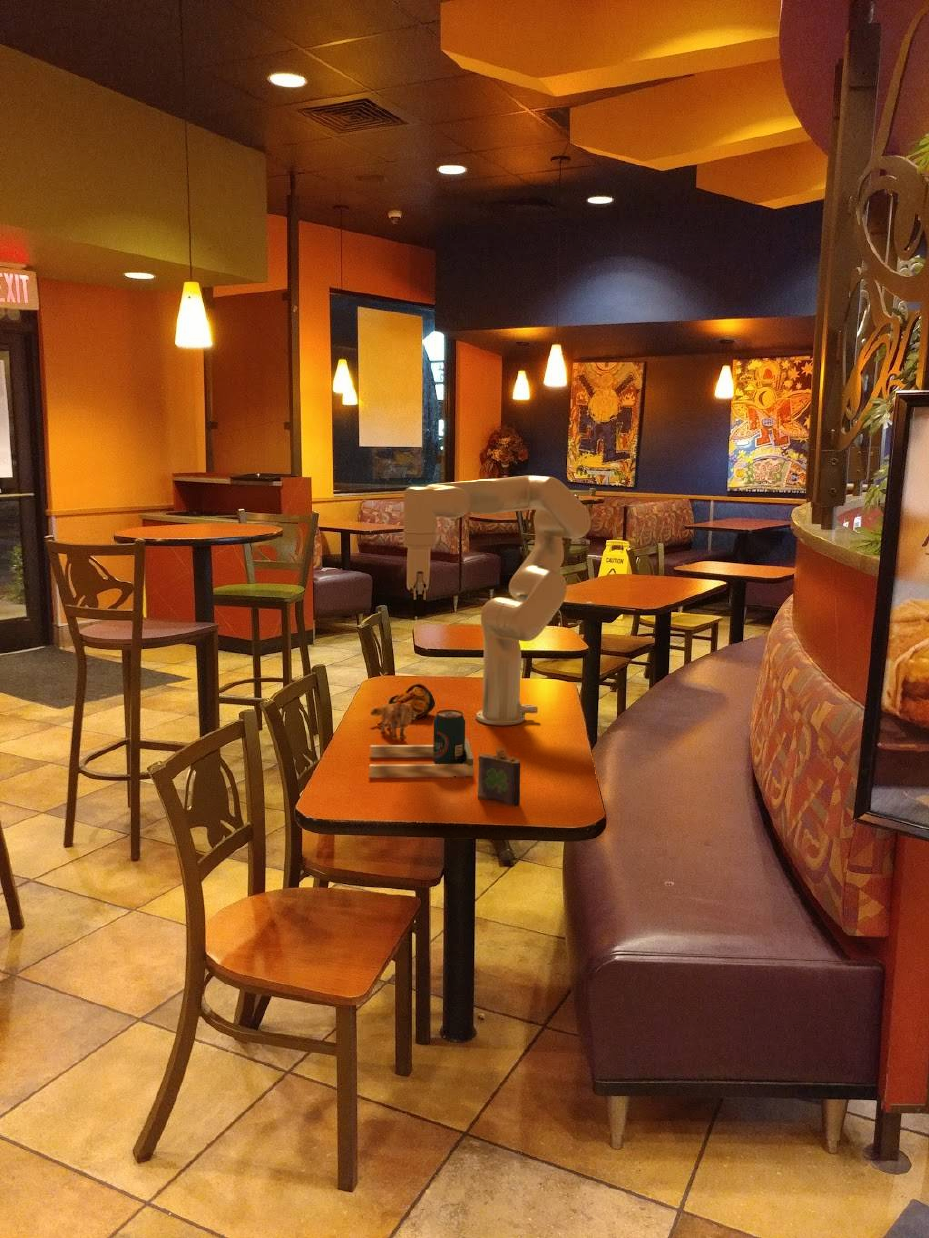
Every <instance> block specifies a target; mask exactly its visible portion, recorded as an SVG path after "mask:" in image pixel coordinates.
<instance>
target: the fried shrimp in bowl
mask: <svg viewBox="0 0 929 1238" xmlns="http://www.w3.org/2000/svg"><path fill="white" fill-rule="evenodd" d="M402 704H410V705H411V708H412V709H413V710H414V711H415V712H417V716H416V717H415V719H420V718H421V717H425V716H427V715H428V714H430V712H431V711H433V709H434V708H435V706H436V701H435V698H434V696H433V693H432V692H431V691H430V690H429V689H428V688H427V687H426V686H425V685H424V684H422V683H415V684H412V685H411V686H409V688H407V690H406V692H405V693H401V694H396V695H394V696H391V698H390V699H389V700H388V705H392V706H393V707H394V708H395V707H398V706H399V705H402ZM384 706H385V705H381V706H378V707H377V708H373V709H371V711H370V714H371V716H375V717H376V716H378V717H379V716H382V710H383V708H384Z"/></svg>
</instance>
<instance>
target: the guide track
mask: <svg viewBox="0 0 929 1238" xmlns="http://www.w3.org/2000/svg"><path fill="white" fill-rule="evenodd" d="M369 747H370V749H369V750H370V752H369V756H370V758H433V744H370V745H369ZM368 770H369V774H368V775H369V776H368V777H369V778H370V779H371V778H377V779H378V778H379V779H381V778H467V777H466V776H473V777H474V756H473V752H472V749H471V745H470V742H469V738H467V737H465V761H464V763H463V764H435V763H414V764H413V763H410V764H409V763H404V764H403V763H402V764H401V763H399V764H398V763H397V764H395V763H389V764H387V763H386V764H385V763H382V764H381V763H378V764H374V763H373V764H372V763H371V764H369V769H368ZM454 776H456V777H454Z"/></svg>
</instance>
